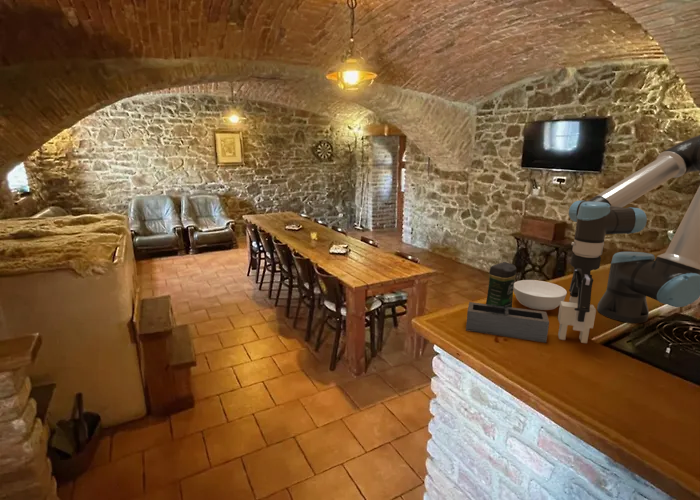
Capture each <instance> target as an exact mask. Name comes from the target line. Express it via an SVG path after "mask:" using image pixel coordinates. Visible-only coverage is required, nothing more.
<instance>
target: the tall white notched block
mask: <svg viewBox="0 0 700 500" xmlns="http://www.w3.org/2000/svg"><path fill="white" fill-rule="evenodd" d="M577 307H578V303H572V302H569V301H560V305H559V308H558V315H557V321H558V323H559V327H558V328H559V329H558V332H557V333H558V334H557V336H558V339H559V340H562V341H566V338H567V331H568V326H572V327H573V325H574V319H575V313H576V310H575V308H577ZM596 314H597V309H596V307H595V306H594V304H590V312H587V315H586V320H585V326H584V331H579V337H578V339H579V341H580V343H582V344H588V340H589V336H590V335H589V334H590V329H594V324H595V319H596Z"/></svg>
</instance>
